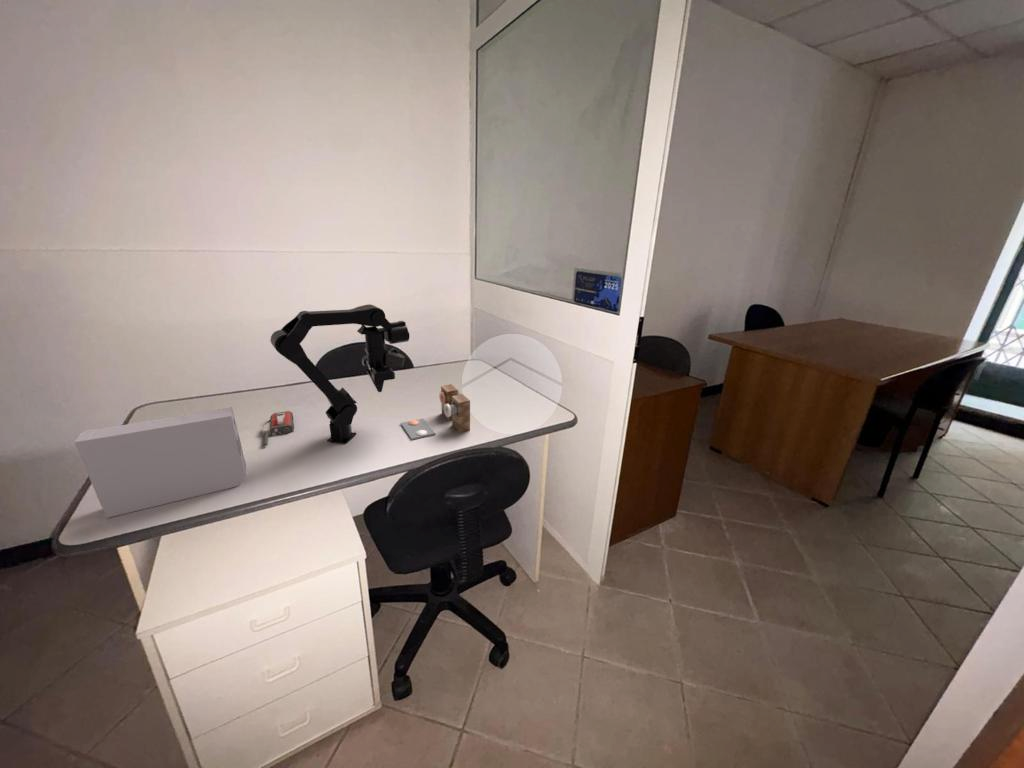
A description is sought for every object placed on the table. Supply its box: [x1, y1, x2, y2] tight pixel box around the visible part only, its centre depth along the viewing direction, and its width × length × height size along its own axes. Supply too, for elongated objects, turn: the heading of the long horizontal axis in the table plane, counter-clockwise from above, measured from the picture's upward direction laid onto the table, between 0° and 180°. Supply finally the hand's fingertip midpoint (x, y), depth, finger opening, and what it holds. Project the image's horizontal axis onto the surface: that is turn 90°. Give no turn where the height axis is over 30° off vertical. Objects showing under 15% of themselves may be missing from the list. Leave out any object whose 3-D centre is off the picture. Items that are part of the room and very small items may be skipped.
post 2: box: [451, 393, 471, 433], centre depth 135 cm, size 4×6×11 cm, turn 31°
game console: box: [74, 406, 247, 519], centre depth 95 cm, size 6×27×20 cm, turn 122°
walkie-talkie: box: [261, 410, 295, 447], centre depth 129 cm, size 9×4×20 cm
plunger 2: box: [444, 404, 458, 417], centre depth 133 cm, size 7×4×4 cm, turn 121°
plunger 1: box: [439, 390, 461, 404], centre depth 142 cm, size 7×4×4 cm, turn 121°
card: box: [400, 418, 436, 441], centre depth 134 cm, size 8×12×1 cm, turn 31°
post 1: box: [440, 383, 459, 421], centre depth 143 cm, size 4×6×11 cm, turn 31°
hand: (379, 391), depth 130 cm, fingers closed
